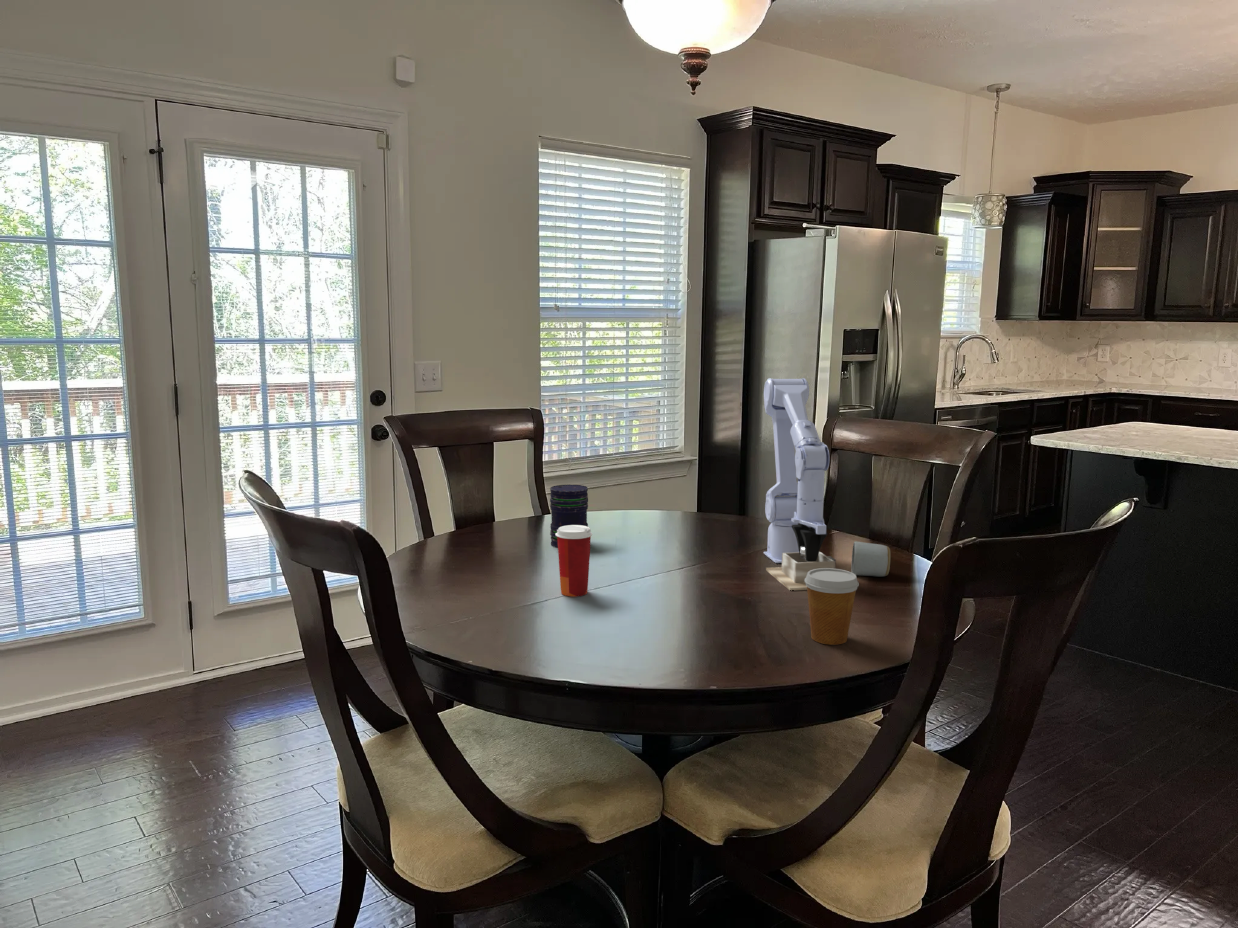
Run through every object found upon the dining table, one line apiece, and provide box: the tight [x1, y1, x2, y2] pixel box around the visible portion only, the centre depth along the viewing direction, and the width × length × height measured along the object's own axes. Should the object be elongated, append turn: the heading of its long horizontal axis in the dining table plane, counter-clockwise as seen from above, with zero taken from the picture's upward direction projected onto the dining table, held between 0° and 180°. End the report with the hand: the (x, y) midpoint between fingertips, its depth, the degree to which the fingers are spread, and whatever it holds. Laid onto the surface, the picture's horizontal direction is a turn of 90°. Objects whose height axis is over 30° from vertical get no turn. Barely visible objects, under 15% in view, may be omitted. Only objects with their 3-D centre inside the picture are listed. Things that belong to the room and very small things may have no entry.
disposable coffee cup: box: [804, 568, 860, 646], centre depth 155 cm, size 10×10×12 cm
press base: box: [765, 551, 837, 591], centre depth 193 cm, size 16×14×5 cm
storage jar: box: [549, 484, 589, 549], centre depth 223 cm, size 10×10×15 cm
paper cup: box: [555, 525, 593, 598], centre depth 181 cm, size 8×8×14 cm
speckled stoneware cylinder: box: [850, 541, 891, 578], centre depth 198 cm, size 11×8×8 cm
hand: (808, 558), depth 193 cm, fingers closed on plunger, 3 cm apart
